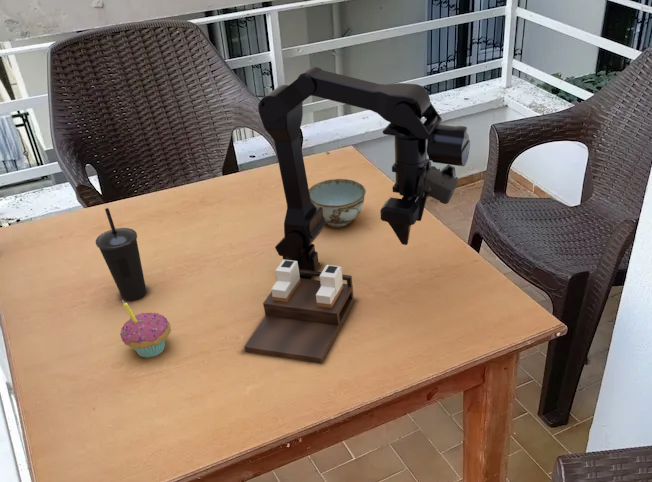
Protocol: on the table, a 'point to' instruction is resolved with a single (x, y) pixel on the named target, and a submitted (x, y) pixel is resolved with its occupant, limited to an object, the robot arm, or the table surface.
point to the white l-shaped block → (286, 280)
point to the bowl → (338, 200)
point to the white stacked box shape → (329, 286)
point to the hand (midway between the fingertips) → (411, 232)
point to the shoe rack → (301, 322)
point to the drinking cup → (123, 260)
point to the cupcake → (145, 332)
